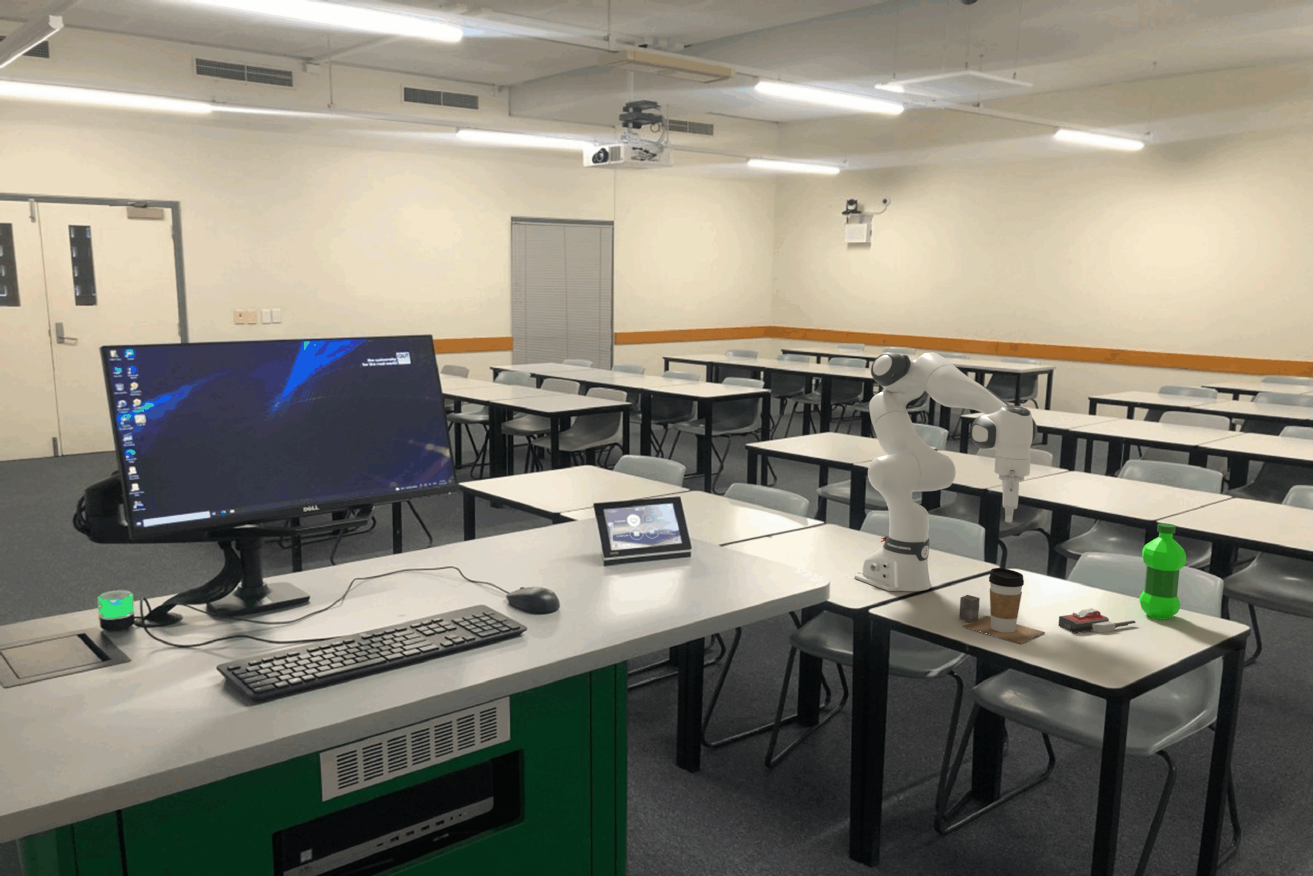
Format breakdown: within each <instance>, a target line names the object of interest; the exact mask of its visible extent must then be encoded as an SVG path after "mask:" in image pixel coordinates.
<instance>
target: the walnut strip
mask: <svg viewBox="0 0 1313 876" xmlns="http://www.w3.org/2000/svg"><path fill="white" fill-rule="evenodd" d="M980 601H981V599H980V597H978V596H974V595H970V594H965V595H963V596H962V597H960V599H959V616H958V619H960V621H963V620H964V621H963V622H966V621H967V623H966V624H964V625H962V628H964V627H966V628H965V629H968V628H970V629H969V630H971V629H974V630H977V631H976V632H978V631H981V632H983V633H982V634H985V633H987V634H986V635H988V634H990V635H989V636H991V635H993V636H992V637H995V636H997V637H996V638H998V637H999V638H998V639H1002V640H1005V639H1006V641H1008V640H1009V642H1012V641H1013V643H1015V642H1018V643H1017V644H1019V643H1023V644H1025V643H1027V642H1029V641H1031V640H1033V639H1035V638H1037V637H1039V635H1040V636H1042V635H1043V634H1045V633H1046V632H1045V631H1043V630H1039V629H1036V628H1033V627H1029V626H1025V625H1021V624H1019V623H1018V624H1017V623H1016V630H1015V631H1014V632H1011V633H1004V632H998V631H995V630H993V629H992V628H991V615H990V616H989V615H984V616H982V617H980V618H979V614H980ZM974 630H973V631H974ZM981 632H980V633H981ZM1041 634H1042V635H1041ZM1036 636H1037V637H1036ZM1028 640H1029V641H1028ZM1026 641H1027V642H1026ZM1024 642H1025V643H1024Z"/></svg>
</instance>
